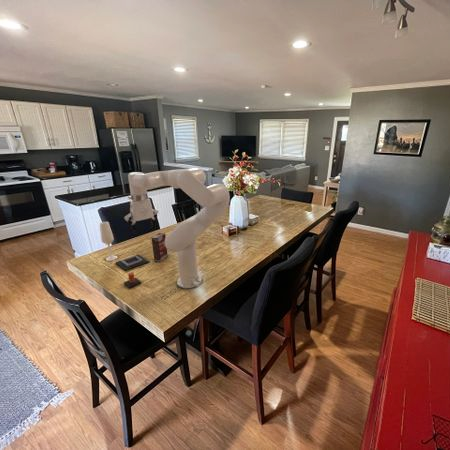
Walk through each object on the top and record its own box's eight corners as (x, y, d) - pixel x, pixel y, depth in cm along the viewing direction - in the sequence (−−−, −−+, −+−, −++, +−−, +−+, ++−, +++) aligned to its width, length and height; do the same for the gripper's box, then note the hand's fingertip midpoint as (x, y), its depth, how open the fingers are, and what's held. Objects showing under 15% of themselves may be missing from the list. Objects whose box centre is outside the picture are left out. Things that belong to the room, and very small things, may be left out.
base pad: (148, 262, 148) (148, 259, 148) (125, 271, 138) (124, 268, 138) (138, 255, 157) (137, 252, 156) (115, 263, 147) (115, 260, 146)
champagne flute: (118, 255, 157) (111, 220, 149) (116, 259, 151) (109, 224, 143) (106, 256, 155) (98, 221, 147) (104, 261, 149) (96, 225, 141)
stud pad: (140, 283, 127) (139, 273, 125) (129, 288, 123) (127, 278, 120) (135, 279, 130) (133, 269, 128) (124, 284, 126) (122, 273, 124)
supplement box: (161, 261, 149) (157, 238, 144) (154, 261, 150) (150, 237, 145) (168, 255, 157) (165, 233, 152) (161, 254, 158) (158, 232, 153)
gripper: (124, 201, 112) (130, 235, 118) (159, 195, 124) (162, 226, 130) (118, 198, 117) (124, 231, 123) (152, 193, 129) (156, 223, 135)
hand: (144, 228), depth 126 cm, fingers open, 9 cm apart
